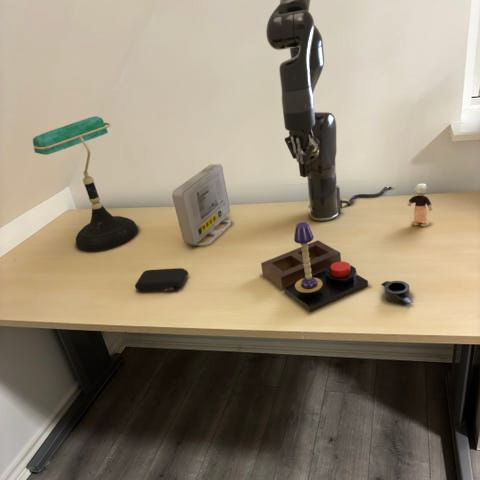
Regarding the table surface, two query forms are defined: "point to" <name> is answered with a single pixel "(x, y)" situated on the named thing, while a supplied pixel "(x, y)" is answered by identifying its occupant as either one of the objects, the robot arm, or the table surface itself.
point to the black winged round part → (397, 292)
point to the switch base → (327, 289)
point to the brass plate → (300, 289)
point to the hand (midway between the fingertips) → (305, 175)
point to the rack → (299, 264)
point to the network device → (202, 205)
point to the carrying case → (161, 279)
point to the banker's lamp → (89, 187)
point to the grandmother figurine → (420, 205)
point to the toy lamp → (305, 253)
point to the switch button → (340, 269)
